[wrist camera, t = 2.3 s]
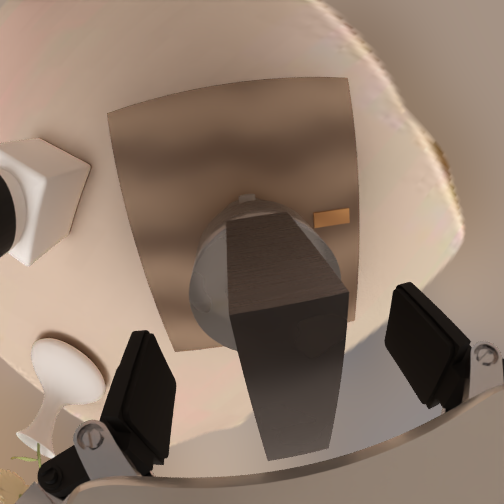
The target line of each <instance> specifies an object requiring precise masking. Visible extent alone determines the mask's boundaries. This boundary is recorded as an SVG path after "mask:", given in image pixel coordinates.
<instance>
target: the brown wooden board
mask: <svg viewBox="0 0 504 504" xmlns="http://www.w3.org/2000/svg"><path fill="white" fill-rule="evenodd" d="M107 117H108V124H109V130H110V136H111V142H112V148H113V153H114V158H115V163H116V168H117V173H118V178H119V182H120V187H121V191H122V195H123V199H124V203H125V207H126V211H127V215H128V219H129V222H130V226H131V230H132V233H133V237H134V240H135V243H136V247H137V250H138V253H139V256H140V260H141V263H142V266H143V269H144V272H145V275H146V278H147V281H148V284H149V287H150V289H151V292H152V295H153V298H154V301H155V303H156V306H157V309H158V311H159V314H160V316H161V319H162V322H163V324H164V327H165V329H166V332H167V334H168V336H169V339H170V341H171V344H172V346H173V348H174V351H175V352H179V351H189V350H198V349H206V348H214V347H222V346H223V345H221V344H219V343H218V342H216V341H215V340H213V339H212V338H210V337H209V336H208V335H207V334H206V333H205V332H204V331H203V330H202V328H201V327H200V326H199V325H198V323H197V321H196V320H195V318H194V315H193V313H192V310H191V306H190V302H189V285H190V279H191V275H192V270H193V265H194V261H195V256H196V252H197V248H198V244H199V240H200V238H201V236H202V233H203V232H204V230H205V228H206V227H207V226H208V224H209V223H210V222H211V221H212V220H213V219H214V218H215V217H216V216H217V215H218V214H219V213H221V212H222V211H224V210H225V209H227V208H229V207H231V206H233V205H236V204H238V203H241V202H246V201H252V200H267V201H273V202H277V203H280V204H283V205H285V206H287V207H289V208H291V209H292V210H294V211H295V212H297V213H298V214H299V215H300V216H301V217H302V218H303V219H304V220H305V221H306V222H307V223H308V224H309V225H310V227H311V228H312V229H313V230H314V231H315V232H316V233H317V234H318V235H319V236H320V238H321V239H322V240H323V241H324V242H325V243H326V244H327V246H328V247H329V248H330V249H331V251H332V252H333V254H334V256H335V257H336V260H337V262H338V265H339V268H340V273H341V281H342V283H343V284H344V285H345V287H346V288H347V289H348V291H349V304H348V318H347V322H350V321H354V320H355V311H356V298H357V284H358V264H359V185H358V166H357V152H356V140H355V129H354V120H353V112H352V104H351V97H350V90H349V84H348V78H337V77H299V78H278V79H264V80H254V81H245V82H237V83H229V84H222V85H216V86H210V87H205V88H199V89H194V90H189V91H184V92H180V93H176V94H171V95H167V96H163V97H159V98H155V99H152V100H148V101H145V102H141V103H138V104H134V105H131V106H128V107H125V108H122V109H119V110H116V111H113V112H110V113H107Z"/></svg>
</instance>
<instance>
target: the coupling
mask: <svg viewBox="0 0 504 504" xmlns="http://www.w3.org/2000/svg"><path fill="white" fill-rule="evenodd" d="M189 302H190V306H191V310H192V313H193V315H194V318H195V320H196V321H197V323H198V325H199V326H200V327H201V328H202V330H203V331H204V332H205V333H206V334H207V335H208V336H209V337H210V338H212V339H213V340H215V341H216V342H218V343H219V344H221V345H223V346H225V347H228V348H230V349H233V350H236V351H238V354H239V358H240V362H241V366H242V370H243V374H244V378H245V382H246V385H247V389H248V393H249V397H250V400H251V404H252V408H253V411H254V415H255V418H256V422H257V425H258V429H259V432H260V436H261V439H262V442H263V446H264V449H265V453H266V456H267V459H268V461H270V460H276V459H282V458H288V457H293V456H297V455H302V454H307V453H311V452H315V451H320V450H323V449H327V448H329V443H330V439H331V434H332V429H333V423H334V418H335V413H336V407H337V401H338V395H339V389H340V382H341V374H342V367H343V358H344V350H345V341H346V330H347V318H348V304H349V291H348V289H347V288H346V287H345V285H344V284H343V283H342V281H341V273H340V268H339V265H338V262H337V260H336V257H335V256H334V254H333V252H332V251H331V249H330V248H329V247H328V246H327V244H326V243H325V242H324V241H323V240H322V239H321V238H320V236H319V235H318V234H317V233H316V232H315V231H314V230H313V229H312V228H311V227H310V225H309V224H308V223H307V222H306V221H305V220H304V219H303V218H302V217H301V216H300V215H299V214H298V213H297V212H295V211H294V210H292V209H291V208H289V207H287V206H285V205H283V204H280V203H277V202H273V201H267V200H252V201H246V202H241V203H238V204H236V205H233V206H231V207H229V208H227V209H225V210H224V211H222V212H221V213H219V214H218V215H217V216H216V217H215V218H214V219H213V220H212V221H211V222H210V223H209V224H208V226H207V227H206V228H205V230H204V232H203V233H202V236H201V238H200V240H199V244H198V248H197V252H196V256H195V261H194V265H193V270H192V275H191V279H190V285H189Z"/></svg>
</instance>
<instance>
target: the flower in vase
mask: <svg viewBox="0 0 504 504" xmlns="http://www.w3.org/2000/svg"><path fill="white" fill-rule="evenodd" d="M31 360H32V364H33V367H34V370H35V372H36V375H37V377H38V379H39V381H40V383H41V385H42V387H43V390H44V399H43V403H42V406H41V408H40V410H39V412H38V414H37V416H36V417H35V419H34V420H33V421H32V423H31V424H30V425H29V426H28V427H27V428H25V429H24V430H21V431H18V432H17V433H16V435H17V436H18V437H19V439H20V440H21V441H22V442H24V443H25V444H26V445H27V446H29V447H30V448H32V449H33V450H35V451H37V456H38V459H33V458H27V457H12V458H11V459H14V458H18V459H21V460H25V461H36V460H38V463H39V469H40V467H41V466H42V465H41V458H40V454H42V455H44V456H46V457H49V458H53V457H55V456H56V455H55V453H54V450H53V446H52V433H53V428H54V424H55V421H56V417H57V415H58V413H59V411H60V410H61V408H62V407H64V406H66V405H75V404H89V403H93V402H96V401H98V400H99V399H100V398H101V397H102V396H103V395H104V394H105V391H106V386H105V382H104V379H103V377H102V374H101V373H100V371H99V369H98V368H97V367H96V366H95V364H94V363H93V362H92V361H91V360H90V359H89V358H88V357H87V356H86V355H84V354H83V353H82V352H80V351H79V350H78V349H76V348H74V347H73V346H71V345H69V344H67V343H65V342H63V341H60V340H57V339H53V338H44V339H40V340H37V341H36V342H34V344H33V345H32V350H31ZM0 473H1V475H0V501H1V502H3V503H4V504H15V503H16V501H17V500H18V499H19V498H20V497H21V496H22V495H23V494H24V492H25V491H26V490H27V489H28V488H29V487H30V486H29V485H25V482H24V480H23V479H22V478H21V477H19V476H18V475H17V474H16V473H15V472H12V473H11V471H9V470H7V471H5V470H4V469H0Z"/></svg>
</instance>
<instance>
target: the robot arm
mask: <svg viewBox="0 0 504 504" xmlns="http://www.w3.org/2000/svg"><path fill="white" fill-rule="evenodd" d="M470 342H471V341H470V340H469V339H468V338H467V337H466V336H465V335H464V334H463V333H462V331H461V330H460V329H459V328H458V327H457V326H456V325H455V324H454V323H453V322H452V321H451V320H450V319H449V318H448V317H447V316H446V315H445V314H444V313H443V312H442V311H441V310H440V309H439V308H438V307H437V306H436V305H435V304H433V302H432V301H431V300H430V299H429V298H427V297H426V296H425V295H424V294H423V293H422V292H421V291H420V290H419V289H418V288H417V287H416V286H415V285H414V284H413V283H411V282H407V283H404V284H400V285H398V286H397V287H396V289H395V290H394V291H393V295H392V302H391V308H390V314H389V320H388V325H387V331H386V336H385V346H386V348H387V350H388V351H389V353H390V354H391V356H392V357H393V359H394V360H395V362H396V363H397V365H398V366H399V368H400V369H401V371H402V372H403V374H404V376H405V377H406V379H407V380H408V382H409V383H410V385H411V387H412V388H413V390H414V392H415V393H416V395H417V396H418V398H419V400H420V401H421V402H422V404H426V405H427V407H428V409H430V408H432V407H434V406H436V405H438V404H439V403H440V404H441V406H442V411H441V415H440V416H438V417H436V418H434V419H433V420H431V421H429V422H427V423H425V424H423V425H421V426H419V427H416V428H415V429H412V430H410V431H408V432H406V433H403V434H401V435H399V436H397V437H394V438H392V439H389V440H387V441H384V442H382V443H379V444H377V445H374V446H371V447H368V448H365V449H362V450H360V451H356V452H354V453H350V454H347V455H344V456H340V457H337V458H333V459H330V460H326V461H322V462H318V463H314V464H309V465H305V466H300V467H295V468H290V469H285V470H279V471H273V472H266V473H259V474H250V475H240V476H228V477H207V478H171V477H170V478H169V477H156V476H155V475H154V473H153V472H152V469H153V464H156V465H164V458H167V457H168V455H169V445H170V435H171V426H172V417H173V409H174V401H175V394H176V381H175V378H174V376H173V374H172V372H171V370H170V368H169V366H168V364H167V362H166V360H165V358H164V356H163V354H162V352H161V349H160V347H159V345H158V343H157V340H156V338H155V336H154V334H152V333H151V334H150V333H149V331H147V330H143V331H134V332H132V334H131V336H130V339H129V341H128V344H127V347H126V349H125V352H124V355H123V357H122V360H121V363H120V365H119V367H118V368H117V370H116V373H115V376H114V378H113V381H112V384H111V387H110V390H109V393H108V396H107V399H106V402H105V405H104V408H103V411H102V414H101V418H100V421H97V420H89V421H86V422H84V423H82V424H81V425H79V427H78V428H77V429H76V431H75V433H74V437H73V441H74V445H73V446H72V447H70V448H68V449H67V450H65V451H64V452H62V453H60V454H59V455H57V456H55V457H53V458H52V459H50V460H48V461H47V462H45V463H44V464H43V465H42V466H41V467H40V469H39V471H38V483H36V482H33V483H32V485H31V486H30V487H29V488H28V489H27V490H26V491H25V492H24V494H23V495H22V496H21V497H20V498H19V499H18V500H17V501H16V503H15V504H504V359H502V356H501V352H500V350H499V349H498V348H497V347H496V346H495V345H494V344H492V343H490V342H486V341H481V342H477V343H476V344H475V345H473V347H471V346H470V345H469V344H470Z"/></svg>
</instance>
